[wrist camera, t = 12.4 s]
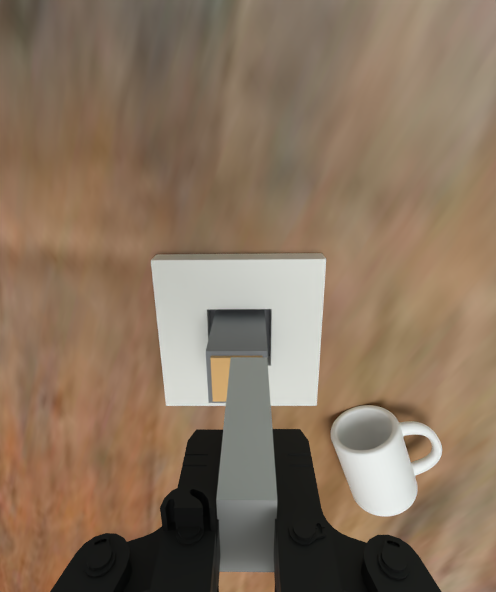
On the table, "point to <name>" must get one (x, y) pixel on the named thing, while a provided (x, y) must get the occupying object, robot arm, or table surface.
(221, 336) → the plug
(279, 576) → the robot arm
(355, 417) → the mug
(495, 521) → the table surface
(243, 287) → the socket plate
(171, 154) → the table surface
